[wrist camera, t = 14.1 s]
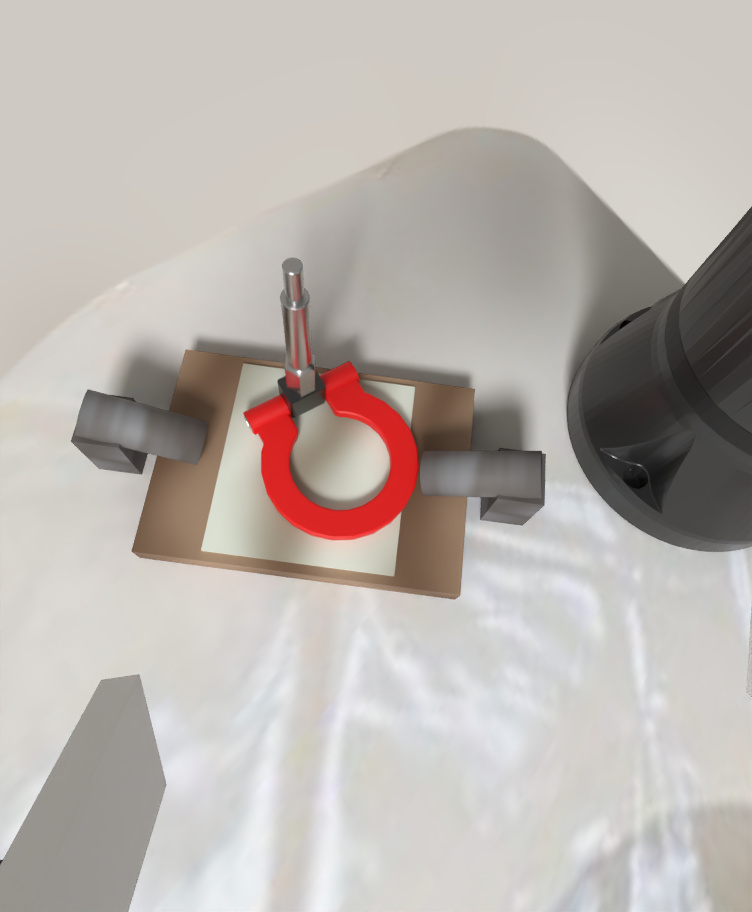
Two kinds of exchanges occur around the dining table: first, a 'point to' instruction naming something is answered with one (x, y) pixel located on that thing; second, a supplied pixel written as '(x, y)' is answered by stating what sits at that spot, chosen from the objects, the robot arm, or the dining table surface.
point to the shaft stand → (305, 477)
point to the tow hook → (345, 400)
